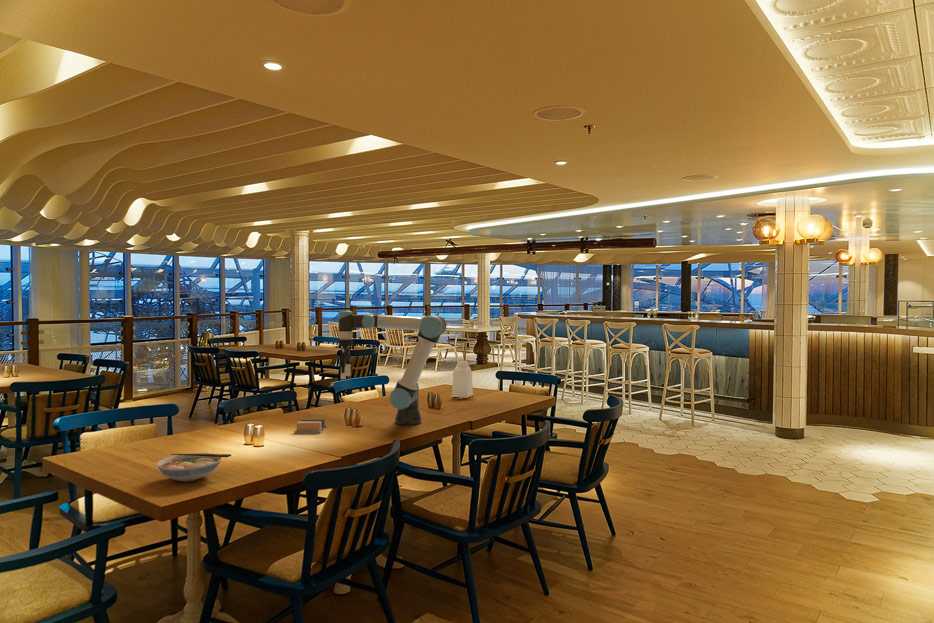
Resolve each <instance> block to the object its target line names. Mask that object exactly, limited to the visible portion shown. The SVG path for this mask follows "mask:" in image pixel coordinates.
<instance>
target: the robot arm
mask: <svg viewBox="0 0 934 623" xmlns="http://www.w3.org/2000/svg"><path fill="white" fill-rule="evenodd" d="M337 320H338V332H337V335H338V338H339V339H338V346H339V347H342V348H341V349H340V361H339V364H338V366H339V368H340V380H346V379H347V377H351V364H352V358H351V347H352V346H353V338H354V337H353V331H354V330H353V329H372V328H374V329H390V330H403V331H405V330H406V331H416V332H417V331H418V333H417V334H416V336H417V337H418V341H417V343H416V345H415V347H414V350H413V351H412V354H411V356H410V359H409V360H408V362H407V366H406V367H405V368H406V369H405V370H404V372H403V374H402V378H401V379H398V380H397V381H396V385H395V386H394V389H392V391H391V392H390V395H389V402H390V404H391V406H392V407H393V408H395V409H397V411H396V414H395V417H394V423H395V424H397V425H403V426H413V425H420V424H422V422H423V421H422V415H421V412H420V408H419V403H420V402H419V396H420V395H419V389H420V387H419V385H420V384H419V383H418V381H419V379H420V377H421V375H422V373H423V370H424V368H425V366H426V364H427V360H428V358H429V356H430V354H431V352H432V349H433V347H434V345H437V344H438V342H439V340H440V337H441V335H443V334H444V333H445V332H446V329H447V321H446V320H445V319H444V317H442V316H441V315H439V314H434V315H433V314H430V315H423V316H421V317H420V316H406V315H405V316H404V315H391V314H375V313H367V314H354V313H353V310H340V311H339V312H338V319H337ZM352 365H353V364H352Z"/></svg>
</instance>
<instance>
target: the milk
mask: <svg viewBox="0 0 934 623" xmlns="http://www.w3.org/2000/svg"><path fill="white" fill-rule="evenodd" d="M452 374H453V375H452V391H451V392H452V393H451V394H452V395H451V398H452V397H469V396H471V395H473V396H474V390H473V371H472V368H471V366H470V364H469V363H468V361H467V360H458V361H457V364H456V366H455V368H454V370H453V373H452Z"/></svg>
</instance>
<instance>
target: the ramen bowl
mask: <svg viewBox="0 0 934 623" xmlns="http://www.w3.org/2000/svg"><path fill="white" fill-rule="evenodd" d="M170 455H173V456H169V457H166V458H162V459H161V460H159V461H157V462H156V467H157V468H158V470H159V471H160V472H161V474H163V475H164V476H165V477H167V478H169V479H172V480H175V481H179V482H181V481H182V483H190V482H189V481H191V482H195V481H194V480H196V481H198V479H199V480H200V479H201V478H204V477H206V476H208V475H209V474H211V473H212V472H214V471H215V469H217V467H218V466H219V465H220V462H221V460H222V458H229V457H231V456H232V454H231V453H229V454H228V453H227V454H226V453H225V454H224V453H223V454H222V453H219V454H218V453H217V454H216V453H210V452H195V453H171V454H170Z"/></svg>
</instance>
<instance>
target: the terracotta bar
mask: <svg viewBox="0 0 934 623" xmlns="http://www.w3.org/2000/svg"><path fill="white" fill-rule="evenodd" d="M296 431H322V421H301V420H300V421H299V420H298V421H297V422H296ZM322 432H323V431H322Z"/></svg>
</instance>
